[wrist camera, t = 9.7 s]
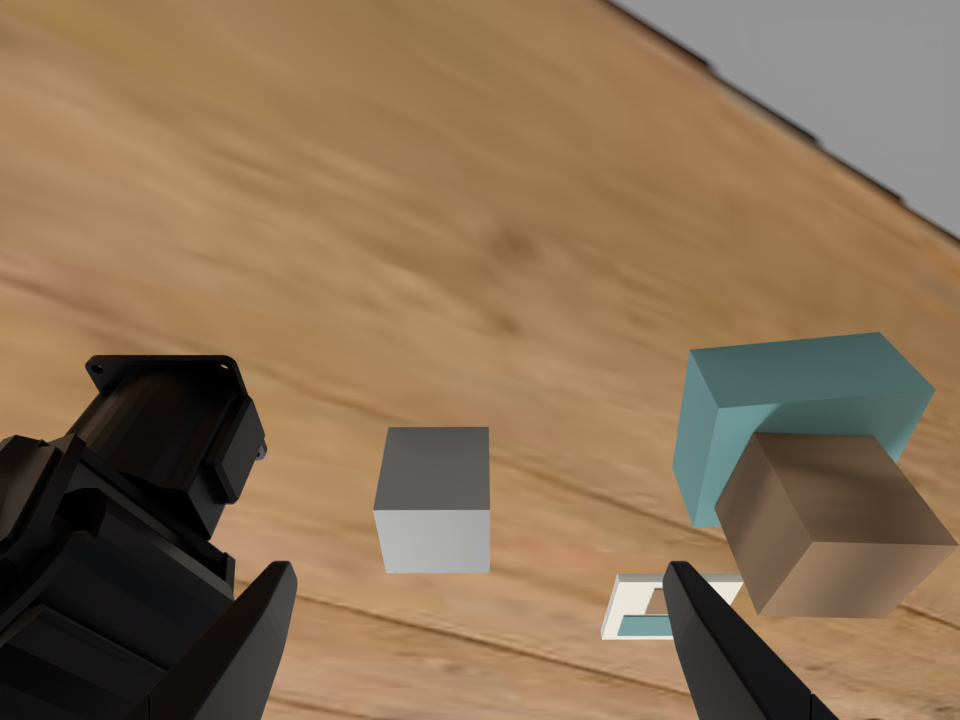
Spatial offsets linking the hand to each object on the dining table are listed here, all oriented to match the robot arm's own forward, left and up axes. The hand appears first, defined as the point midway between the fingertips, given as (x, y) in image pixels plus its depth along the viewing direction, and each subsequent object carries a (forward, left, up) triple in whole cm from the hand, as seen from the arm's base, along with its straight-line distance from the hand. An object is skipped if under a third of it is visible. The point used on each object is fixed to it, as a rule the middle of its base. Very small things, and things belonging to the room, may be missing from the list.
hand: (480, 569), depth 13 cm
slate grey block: (-2, -10, -12) cm, 16 cm away
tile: (+13, -25, -12) cm, 31 cm away
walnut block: (+13, -7, -8) cm, 17 cm away
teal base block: (+14, -6, -12) cm, 19 cm away
